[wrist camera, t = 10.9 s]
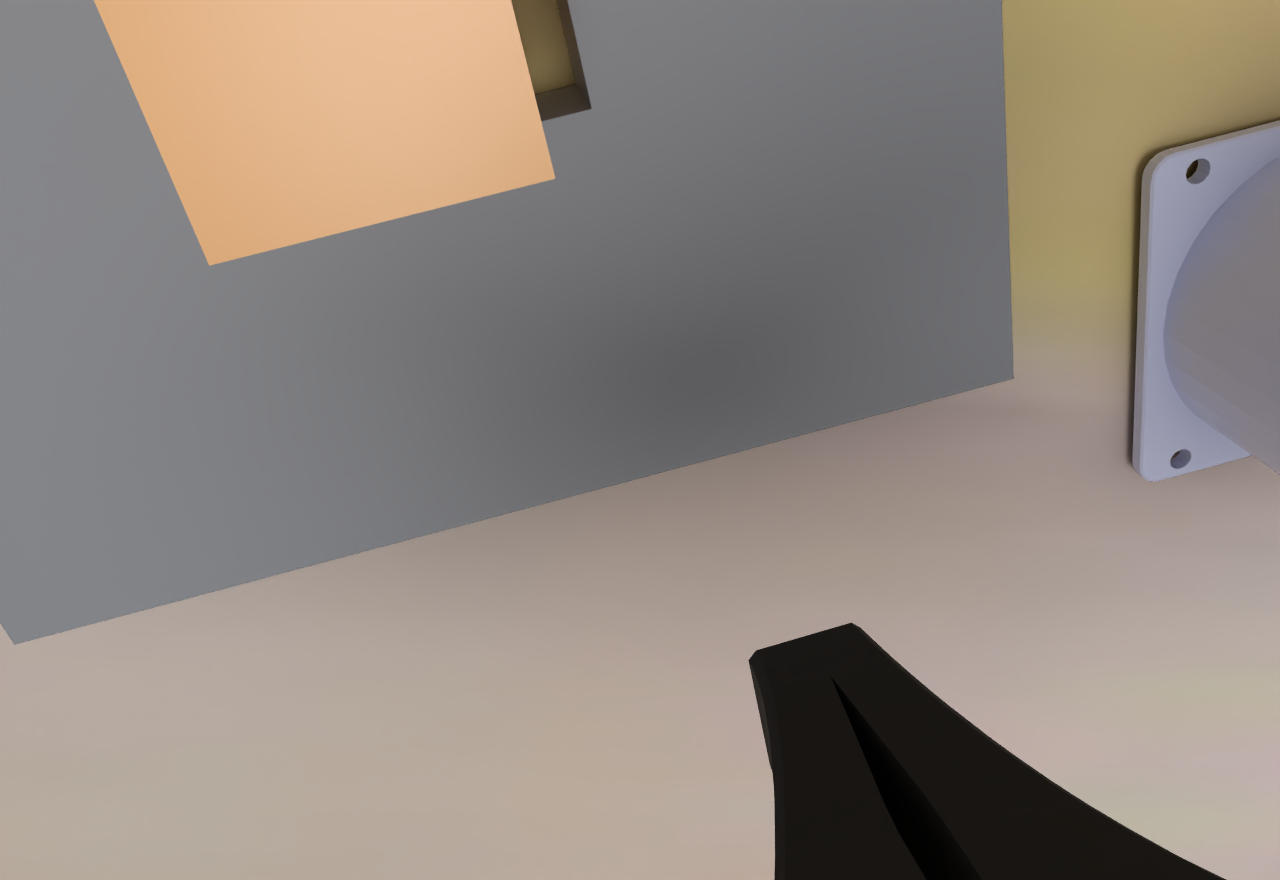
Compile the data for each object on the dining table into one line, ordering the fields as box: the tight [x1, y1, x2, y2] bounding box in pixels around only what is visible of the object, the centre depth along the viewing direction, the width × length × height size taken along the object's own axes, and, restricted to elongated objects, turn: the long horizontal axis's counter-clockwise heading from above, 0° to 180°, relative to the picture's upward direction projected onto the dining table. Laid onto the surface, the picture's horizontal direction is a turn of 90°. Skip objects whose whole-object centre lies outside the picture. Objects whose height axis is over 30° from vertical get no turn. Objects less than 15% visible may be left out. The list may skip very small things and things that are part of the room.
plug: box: [94, 0, 555, 266], centre depth 14 cm, size 4×4×8 cm
